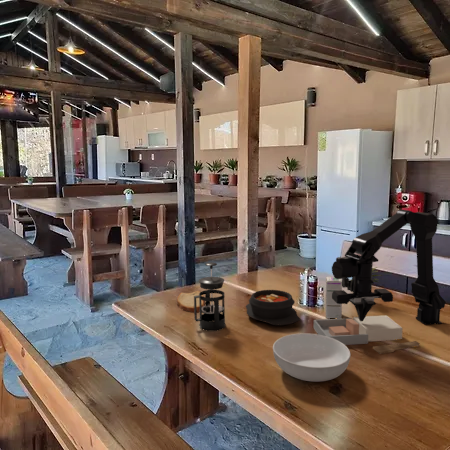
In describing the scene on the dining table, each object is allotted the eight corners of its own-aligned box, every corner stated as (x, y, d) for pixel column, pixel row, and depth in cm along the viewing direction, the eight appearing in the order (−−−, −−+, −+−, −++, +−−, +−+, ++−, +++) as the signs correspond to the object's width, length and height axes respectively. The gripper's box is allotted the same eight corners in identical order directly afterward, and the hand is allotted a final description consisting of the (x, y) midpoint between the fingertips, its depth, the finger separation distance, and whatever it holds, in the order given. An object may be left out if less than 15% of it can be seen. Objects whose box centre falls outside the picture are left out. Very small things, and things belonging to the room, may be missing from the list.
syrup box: (341, 319, 152) (343, 281, 150) (325, 318, 153) (326, 280, 151) (340, 313, 157) (341, 276, 155) (324, 312, 159) (325, 276, 156)
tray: (351, 326, 146) (351, 318, 145) (367, 343, 132) (368, 334, 131) (313, 328, 145) (313, 319, 144) (326, 345, 131) (326, 336, 130)
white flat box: (386, 326, 145) (386, 315, 144) (401, 339, 134) (402, 328, 134) (352, 327, 144) (353, 316, 144) (366, 341, 133) (366, 329, 133)
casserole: (312, 324, 148) (312, 301, 147) (266, 334, 140) (266, 310, 139) (275, 303, 170) (275, 283, 169) (234, 310, 163) (234, 289, 162)
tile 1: (328, 326, 139) (328, 332, 140) (334, 333, 134) (334, 338, 135) (343, 325, 140) (342, 331, 140) (349, 331, 135) (349, 337, 135)
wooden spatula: (413, 342, 132) (413, 339, 132) (421, 347, 129) (421, 344, 128) (372, 348, 128) (372, 345, 128) (379, 353, 125) (380, 350, 125)
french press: (221, 318, 154) (220, 258, 151) (231, 328, 146) (230, 264, 142) (191, 324, 150) (189, 262, 146) (199, 333, 141) (198, 268, 138)
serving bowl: (336, 401, 101) (337, 375, 100) (259, 378, 112) (259, 354, 111) (358, 365, 118) (359, 342, 117) (290, 348, 129) (290, 327, 128)
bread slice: (198, 314, 160) (198, 305, 159) (162, 306, 169) (162, 297, 169) (223, 301, 175) (223, 292, 174) (189, 294, 184) (188, 286, 184)
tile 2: (351, 318, 138) (346, 319, 138) (359, 324, 134) (353, 324, 133) (351, 332, 139) (345, 333, 139) (358, 339, 134) (353, 339, 134)
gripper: (379, 268, 144) (377, 310, 147) (327, 270, 143) (326, 313, 145) (394, 277, 133) (392, 323, 136) (338, 279, 132) (337, 325, 134)
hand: (361, 320), depth 138 cm, fingers closed
